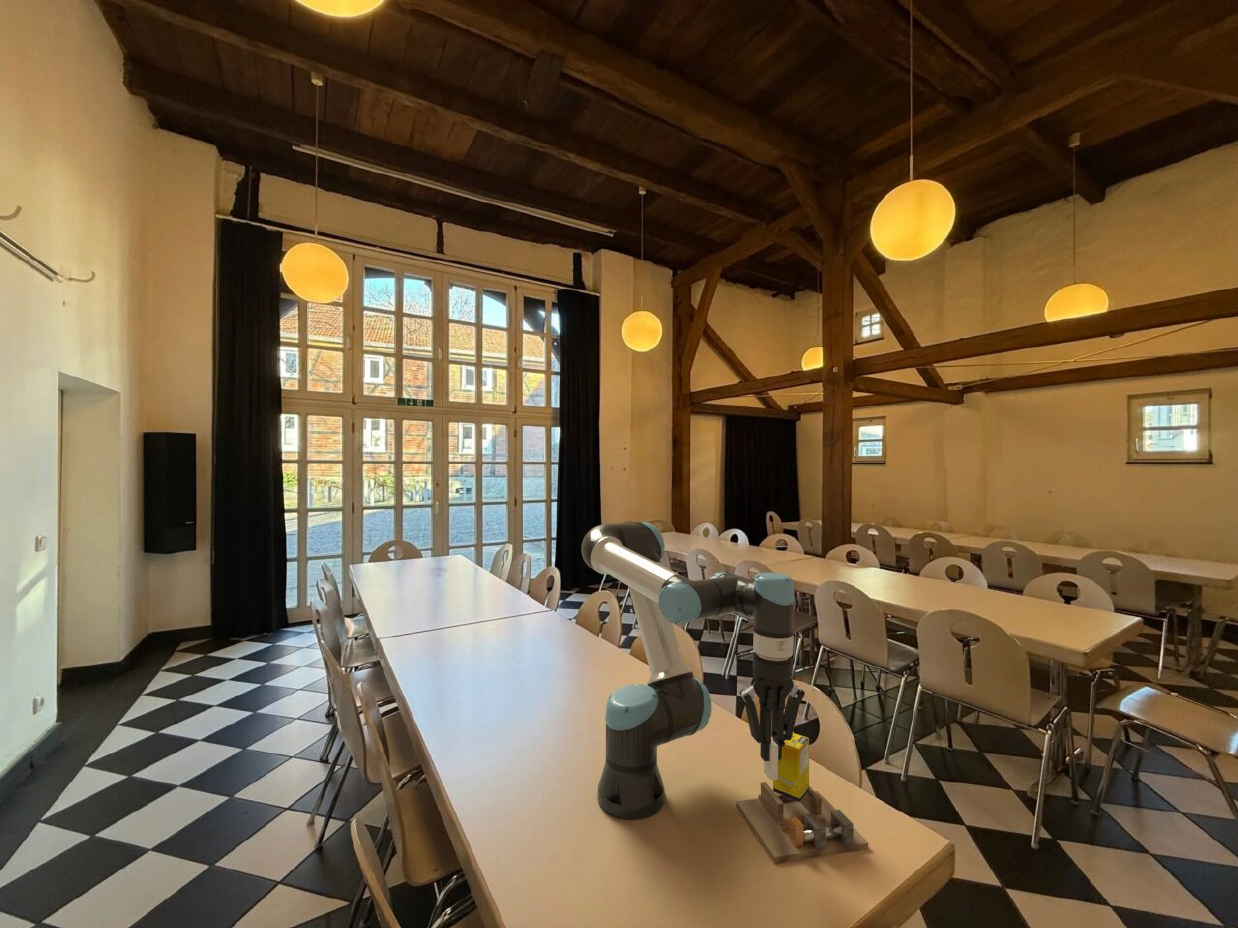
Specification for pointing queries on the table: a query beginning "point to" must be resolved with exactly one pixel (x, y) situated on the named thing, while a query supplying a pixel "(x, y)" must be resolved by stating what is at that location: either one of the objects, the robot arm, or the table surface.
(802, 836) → the lock pin
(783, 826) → the dock
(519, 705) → the table surface
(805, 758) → the supplement box
